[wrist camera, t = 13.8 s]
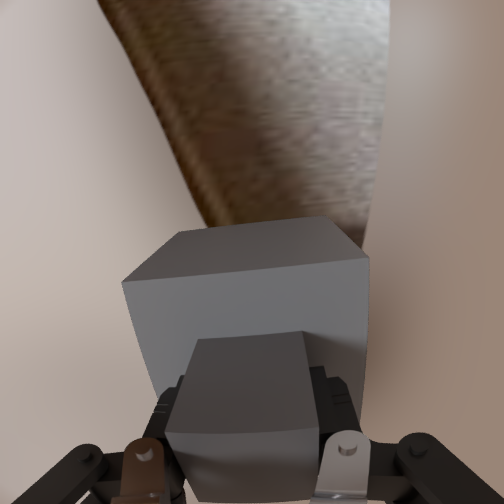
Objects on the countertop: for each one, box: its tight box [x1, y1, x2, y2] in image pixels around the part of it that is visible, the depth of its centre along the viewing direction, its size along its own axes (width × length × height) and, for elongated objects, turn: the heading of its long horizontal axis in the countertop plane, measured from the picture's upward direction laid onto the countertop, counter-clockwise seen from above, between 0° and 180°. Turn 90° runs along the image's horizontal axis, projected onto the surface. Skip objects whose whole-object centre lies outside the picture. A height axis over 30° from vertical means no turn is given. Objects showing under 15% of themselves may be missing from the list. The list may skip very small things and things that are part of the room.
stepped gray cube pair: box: [121, 215, 369, 503], centre depth 14 cm, size 9×9×14 cm
